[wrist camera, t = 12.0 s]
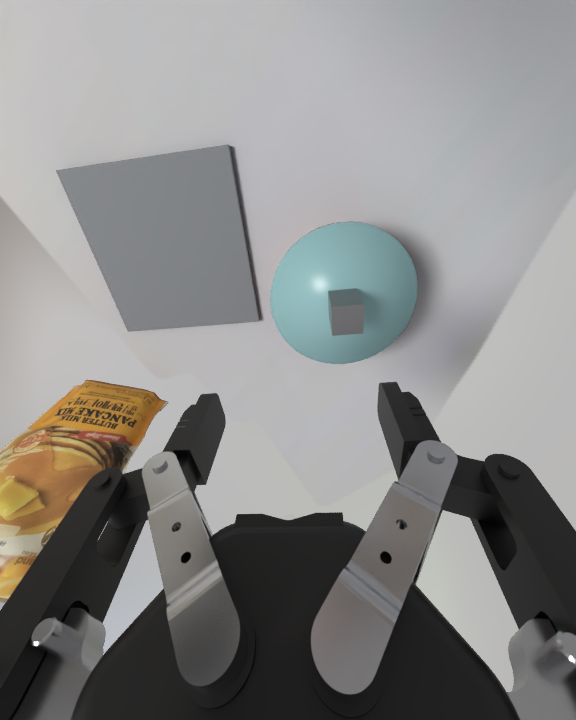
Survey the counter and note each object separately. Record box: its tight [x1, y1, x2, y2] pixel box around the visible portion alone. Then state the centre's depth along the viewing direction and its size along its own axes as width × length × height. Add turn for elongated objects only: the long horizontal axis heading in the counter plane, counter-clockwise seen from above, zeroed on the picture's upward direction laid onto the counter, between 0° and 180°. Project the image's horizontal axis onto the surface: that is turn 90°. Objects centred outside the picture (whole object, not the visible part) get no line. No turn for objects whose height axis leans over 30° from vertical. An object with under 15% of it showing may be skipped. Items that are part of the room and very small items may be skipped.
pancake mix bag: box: [0, 380, 168, 603], centre depth 37 cm, size 7×19×28 cm, turn 80°
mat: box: [56, 145, 260, 331], centre depth 35 cm, size 20×20×1 cm
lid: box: [270, 222, 418, 364], centre depth 29 cm, size 16×16×6 cm
